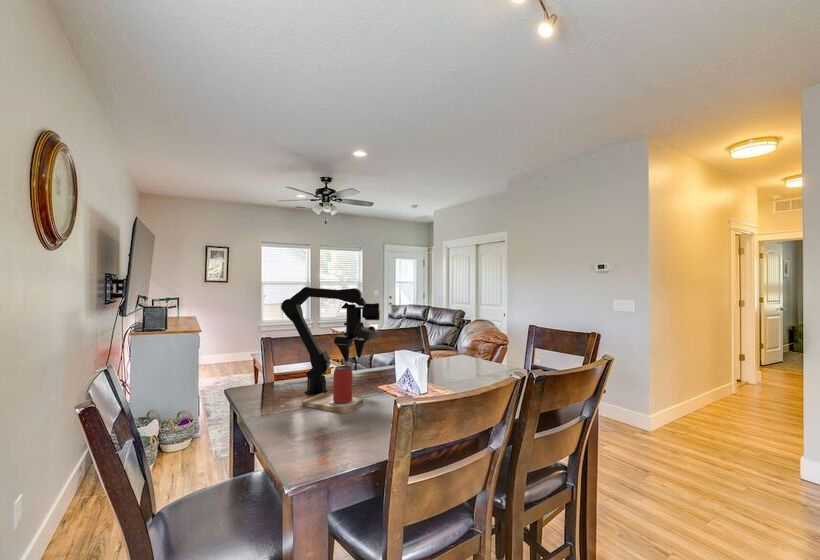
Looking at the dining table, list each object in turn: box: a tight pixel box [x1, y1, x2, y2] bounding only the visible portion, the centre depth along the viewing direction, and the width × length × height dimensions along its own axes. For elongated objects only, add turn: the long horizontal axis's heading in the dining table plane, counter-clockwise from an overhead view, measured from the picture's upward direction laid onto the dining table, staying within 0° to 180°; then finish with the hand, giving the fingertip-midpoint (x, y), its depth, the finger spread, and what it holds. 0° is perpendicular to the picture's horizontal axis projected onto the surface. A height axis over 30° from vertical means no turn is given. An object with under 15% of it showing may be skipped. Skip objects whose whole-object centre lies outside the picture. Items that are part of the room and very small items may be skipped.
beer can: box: [332, 365, 353, 404], centre depth 137 cm, size 7×7×12 cm
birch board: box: [301, 392, 364, 414], centre depth 139 cm, size 18×12×2 cm, turn 66°
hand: (353, 359), depth 155 cm, fingers open, 9 cm apart
